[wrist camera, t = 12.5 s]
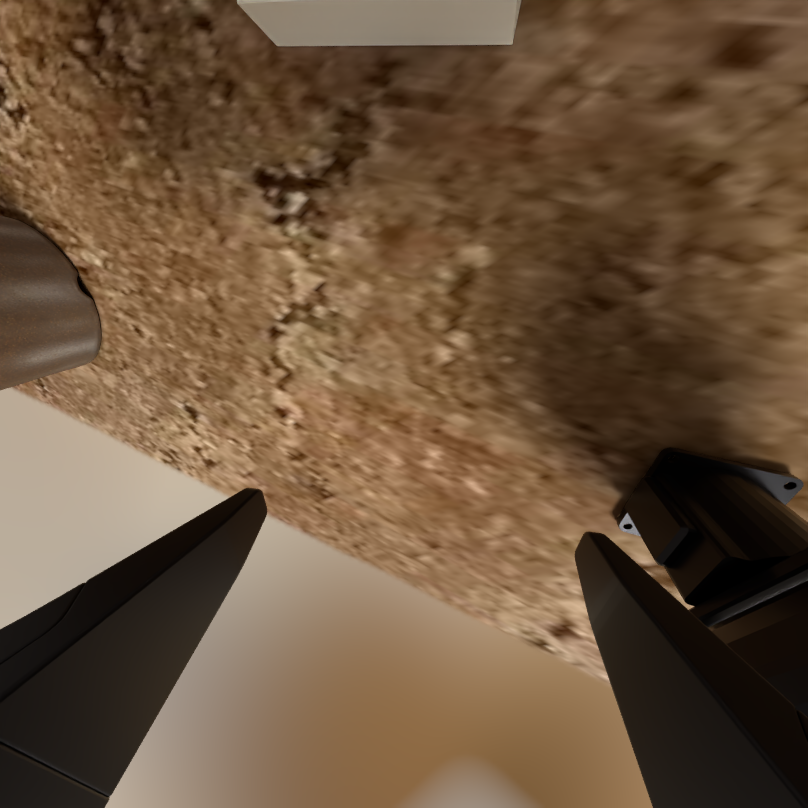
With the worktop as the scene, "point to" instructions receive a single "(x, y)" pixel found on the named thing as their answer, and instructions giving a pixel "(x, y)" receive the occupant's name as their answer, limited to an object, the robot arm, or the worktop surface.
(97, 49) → the worktop surface
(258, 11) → the tray
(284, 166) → the worktop surface
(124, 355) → the worktop surface
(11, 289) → the plant pot
